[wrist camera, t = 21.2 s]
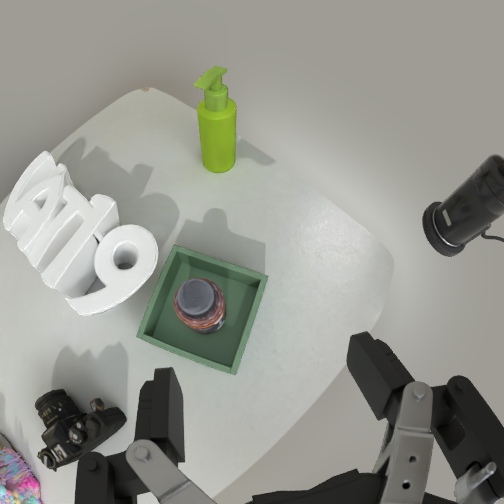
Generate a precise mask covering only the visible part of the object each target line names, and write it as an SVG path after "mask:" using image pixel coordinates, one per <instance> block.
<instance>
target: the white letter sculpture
mask: <svg viewBox="0 0 504 504" xmlns="http://www.w3.org/2000/svg"><path fill="white" fill-rule="evenodd" d="M3 221H4V226H5V228H6V230H7V231H9V232H10V233H11V234H12V235H13V236H14V237H15V238H16V239H17V240H18V242H17V246H18V248H19V249H20V250H21V251H22V252H23V253H25V254H26V255H27V256H28V259H29V261H30V263H31V265H32V266H33V267H34V268H35V269H37V270H38V271H40V272H41V273H42V274H41V277H42V280H43V281H44V283H45V284H46V285H47V286H48V287H50V288H52V289H54V290H56V291H59V292H61V293H63V294H65V295H67V296H70V297H72V298H65V299H66V300H67V302H68V303H69V304H70V305H71V307H72V308H73V309H74V310H75V311H76V312H77V313H78V314H80V315H81V316H84V315H94V314H98V313H102V312H105V311H107V310H110V309H112V308H113V307H115V306H117V305H118V304H120V303H121V302H123V301H124V300H126V299H127V298H128V297H130V296H131V295H132V294H133V293H135V292H136V291H137V290H138V289H139V288H140V287H141V286H142V285H143V284H144V283H145V282H146V281H147V280H148V278H149V277H150V276H151V275H152V273H153V271H154V269H155V267H156V264H157V261H158V246H157V243H156V240H155V238H154V237H153V235H152V234H151V233H150V232H149V231H148V230H147V229H145V228H144V227H142V226H138V225H133V224H128V225H122V226H120V221H119V216H118V210H117V204H116V201H115V200H113V199H112V198H110V197H108V196H106V195H102V194H96V195H94V196H93V197H92V198H91V200H90V201H88V200H87V199H86V198H85V197H84V196H83V195H82V194H81V193H80V192H79V191H78V190H76V189H75V188H74V185H73V183H72V180H71V178H70V175H69V173H68V170H67V168H66V166H65V165H64V164H62V163H60V164H58V166H57V167H56V164H55V162H54V160H53V157H52V155H51V154H50V153H49V152H47V151H44V152H42V153H41V154H40V155H39V156H38V157H37V158H36V159H35V160H34V161H33V162H32V163H31V164H30V165H29V167H28V168H27V169H26V170H25V171H24V173H23V174H22V176H21V177H20V179H19V180H18V182H17V183H16V185H15V187H14V189H13V191H12V193H11V195H10V198H9V200H8V203H7V206H6V209H5V213H4V218H3ZM123 263H130V264H131V265H132V268H130V269H127V270H121V269H119V268H118V267H119V266H120V265H121V264H123ZM97 277H99V278H100V280H101V282H102V283H103V285H104V286H105V287H104V288H102V289H100V290H98V291H96V292H93V293H90V294H87V295H85V294H86V292H87V291H88V289H89V288H90V287H91V285H92V284H93V282H94V281H95V280H96V278H97Z"/></svg>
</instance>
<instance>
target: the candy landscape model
mask: <svg viewBox="0 0 504 504" xmlns="http://www.w3.org/2000/svg"><path fill="white" fill-rule="evenodd" d="M17 454H20V453H16V452H15V451H14V450H12V447H11V445H10V444H9V442H8V441H7V440H6V439H5V438H4V437H3V436H2V435H0V504H42V503H41V501H40V499H39V498H40V495H41V494H40V492H39V490H40V487H39V483H38V482H37V481H36V479H34V477H32V476H34V475H31V474H32V473H30V471H31V470H30V469H28V467H30V466H28V467H27V464H26V465H24V464H25V463H23V462H25V461H26V460H25V461H24V460H22V459H21V458H19V457H21V456H19V455H17Z"/></svg>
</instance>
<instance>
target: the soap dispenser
mask: <svg viewBox="0 0 504 504" xmlns="http://www.w3.org/2000/svg"><path fill="white" fill-rule="evenodd" d="M226 72H227V69H226V68H222V67H218V66H214V67H213V68H211V69H210V70H208V71H207V72H205V73H204V74H203V75H202V76H201V77H200V78H199V79H198V80H197V82H196V83H195V84H194V87H198V88H201V89H205V90H204V94H205V99H204V100H203V101H202V102H200V103H199V105H198V107H197V113H198V122H199V131H200V140H201V149H202V157H203V164H204V166H205V168H206V169H207V170H209V171H211V172H214V173H222V172H226V171H228V170H229V169H231V168H232V167H233V165H234V163H235V138H236V104H235V102H234V101H233V100H231V99H229V98H228V88H227V86H226V85H224V84H222V75H223V74H225V73H226Z"/></svg>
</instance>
